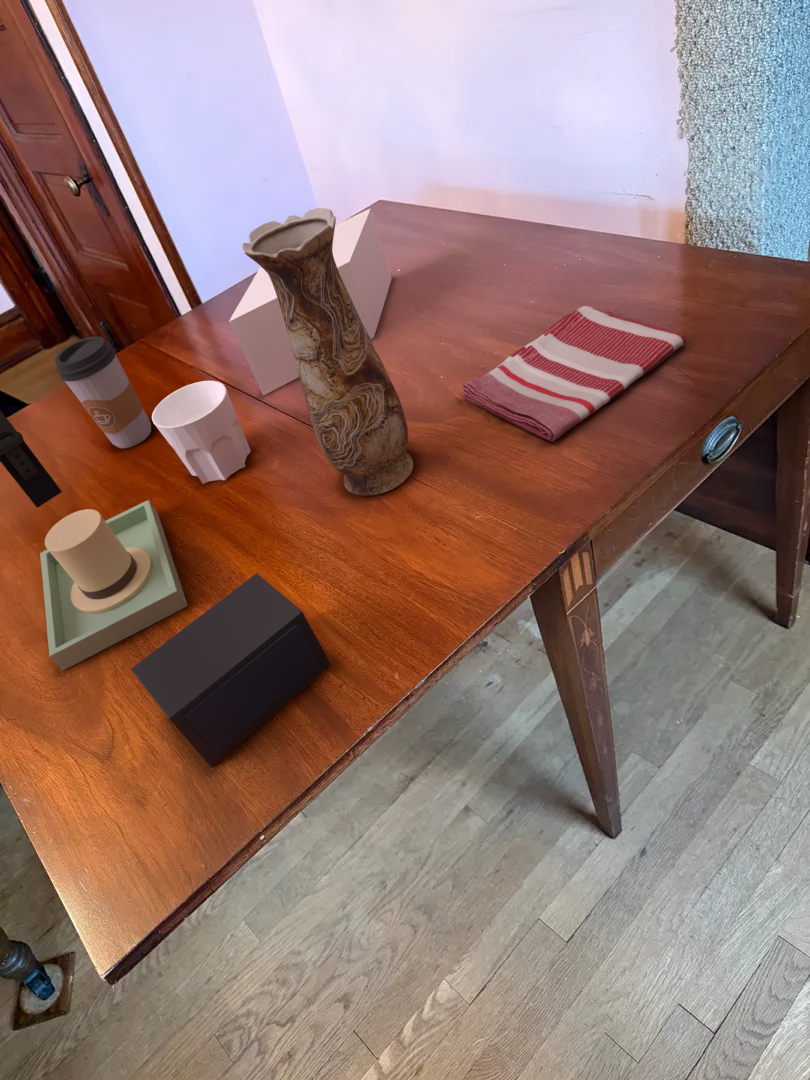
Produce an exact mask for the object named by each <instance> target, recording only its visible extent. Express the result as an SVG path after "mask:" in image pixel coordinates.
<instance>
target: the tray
mask: <svg viewBox="0 0 810 1080" xmlns="http://www.w3.org/2000/svg"><path fill="white" fill-rule="evenodd" d="M105 521H106V523H107V524H108V526H109V527H110V528H111V530H112V531H113V532H114V534H115V535H116V536H117V538H118V539H119V541H120V542H121V543H122V545H123V546H124V547H125V548H139V549H142V550H144V551H145V552H146V553H147V554H148V555H149V557H150V558H151V560H152V572H151V575H150V577H149V579H148V581H147V582H146V584H145V585H144V587H143V588H142V589H141V590H140V591H139V592H138V593H137V594H136V595H135V596H134V597H133V598H131V599H130V600H129V601H127V602H126V603H124V604H122V605H121V606H119V607H117V608H115V609H112V610H110V611H107V612H103V613H98V614H87V613H83V612H81V611H79V610H78V609H77V608H76V607H75V606H74V605H73V604H72V602H71V589H72V586H73V584H74V580H73V579H72V578H71V577H70V576H69V574H68V573H67V572H66V571H65V570H64V568H63V567H62V566H61V565H60V564H59V562H58V561H57V560H56V559H55V558H54V556H53V555H52V554H51V553H50V552H49V550H48V549H47V548H46V549H45V550H42V551H41V552H40V553H39V556H40V567H41V577H42V587H43V588H42V589H43V601H44V611H45V621H46V632H47V645H48V653H49V654H48V655H49V657H50V658H51V660H52V661H53V662H54V663H55V664H56V665H57V666H58V667H59V668H60V669H61V670H62V671H65V670H67V669H68V668H69V669H70V668H71V667H73V666H75V665H77V664H78V663H81V662H83V661H85V660H86V659H89V658H90V657H92V656H94V655H96V654H98V653H100V652H102V651H104V650H107V648H109V647H112V646H113V645H115V644H117V643H120V642H121V641H123V640H125V639H127V638H129V637H132V636H133V635H135V634H137V633H138V632H141V631H143V630H144V629H146V628H148V627H150V626H153V625H154V624H156V623H158V622H160V621H162V620H164V619H165V618H167V617H170V616H171V615H173V614H176V613H177V612H179V611H181V610H184V609H185V608H187V607H188V602H187V599H186V597H185V594H184V590H183V587H182V584H181V581H180V577H179V574H178V572H177V568H176V566H175V562H174V559H173V556H172V553H171V549H170V547H169V543H168V540H167V537H166V534H165V531H164V528H163V525H162V521H161V518H160V515H159V513H158V512H157V510H156V508H155V507H154V506H153V504H152V503H151V501H150V500H149V499H147V500H145V501H143V502H141V503H139V504H137V505H135V506H132V507H130V508H128V509H127V510H124V511H122V512H120V513H119V514H116V515H115V516H113V517H110V518H108V519H106V520H105Z"/></svg>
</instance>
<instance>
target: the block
mask: <svg viewBox="0 0 810 1080" xmlns="http://www.w3.org/2000/svg"><path fill="white" fill-rule="evenodd" d="M332 253H333V257H334V260H335V263H336V266H337V269H338V271H339V274H340V276H341V278H342V280H343V283H344V285H345V287H346V289H347V291H348V293H349V296H350V298H351V300H352V302H353V304H354V306H355V309H356V311H357V313H358V315H359V317H360V319H361V321H362V323H363V325H364V327H365V329H366V331H367V333H368V335H369V337H370V339H371V340H372V339H374V338H375V335H376V332H377V329H378V326H379V323H380V319H381V315H382V313H383V310H384V309H383V308H384V305H385V303H386V299H387V296H388V292H389V289H390V286H391V282H392V280H393V279H392V276H391V273H390V272H391V271H390V269H389V265H388V262H387V259H386V255H385V251H384V248H383V245H382V242H381V238H380V235H379V232H378V228H377V225H376V221H375V217H374V214H373V211H372V207H371V208H368V209H365V210H364V211H362V212H360V213H358V214H356V215H354V216H352V217H350V218H347V219H345V220H343V221H341V222H339V223H337V224H335V230H334V237H333V247H332ZM228 324H229V326H230V329H231V330H232V333H233V334H234V337H235V339H236V341H237V343H238V345H239V347H240V349H241V352H242V353H243V357H244V358H245V360H246V363H247V364H248V365H247V366H248V367H249V369H250V372H251V373H252V376H253V378H254V379H255V382H256V384H257V386H258V389H259V390H260V392H261V395H262V396H265V395H267V394H270V393H271V392H273V391H275V390H277V389H279V388H281V387H283V386H285V385H286V384H288V383H290V382H292V381H294V380H296V379H298V378H299V374H298V370H297V366H296V362H295V358H294V355H293V351H292V347H291V344H290V340H289V337H288V333H287V329H286V326H285V322H284V319H283V315H282V311H281V308H280V305H279V301H278V298H277V295H276V292H275V289H274V287H273V284H272V282H271V279H270V277H269V275H268V273H267V272H266V271H265V270H264V269H263V268H262V267H261V266H259V269H258V271H257V272H256V274H255V276H254V277H253V279H252V281H251V282H250V284H249V285H248V288H247V290H246V291H245V293H244V294H243V296H242V297H241V300H240V302H239V303H238V304H237V306H236V308H235V310H234V312H233V313H232V315H231V317H230V319H229V320H228Z"/></svg>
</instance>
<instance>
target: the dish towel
mask: <svg viewBox="0 0 810 1080" xmlns="http://www.w3.org/2000/svg"><path fill="white" fill-rule="evenodd" d="M685 344H687V338H686V335H685V334H684V333H681V332H679V331H674V330H672V329H667V328H663V327H660V326H655V325H651V324H649V323H645V322H642V321H639V320H634V319H632V318H631V319H630V318H626V317H624V316H619V315H615V314H611V313H609V312H606V311H605V310H604V311H603V310H601V309H598V308H595V307H592V306H589V305H582V306H581V307H579V308H578V309H576V310H575V311H573V312H572V313H571V312H570V313H569V314H567V315H565V316H564V317H562V318H560V319H559V320H558V321H556V323H554V324H553V325H552V326H551V327H549V329H546V331H544V332H543V333H542V334H541V335H540V336H539V337H538V338H536V339H534V340H533V341H530V342H529V343H527V344H526V345H523V346H522V347H521V348H519V349H518V350H516V351H515V352H513V353H512V354H510V355H509V356H508V357H506V358H505V359H504V361H502V362H501V363H500V364H499V365H497V366H496V367H495V368H493V369H491V370H490V371H489V372H487V373H485V374H483V375H482V376H480V377H477V378H471V379H468V380H466V382H463V383H462V386H463V387H462V390H463V400H464V401H466V402H469V403H470V404H472V405H474V406H477V407H478V408H481V409H482V410H484V411H486V412H489V413H491V414H492V415H494V416H495V417H498V418H500V419H502V420H504V421H506V422H508V423H510V424H513V425H514V426H517V427H519V428H522V429H524V430H526V431H528V432H530V433H532V434H535V435H536V436H538V437H541V438H543V439H545V440H547V441H550V442H554V441H555V440H557V439H559V438H561V436H563V435H564V434H565V433H566V432H568V431H569V430H571V429H572V428H573V427H574V426H576V425H578V424H579V423H580V422H582V421H583V420H584V419H586V418H587V417H589V416H591V415H593V414H594V413H595V412H596V411H598V410H599V409H600V408H602V407H604V406H605V405H606V404H607V403H609V402H610V401H611V400H613V399H615V397H617V396H618V395H620V394H621V393H622V392H623V391H624V390H626V389H627V388H628V387H629V386H630V385H631V384H632V383H634V382H635V381H637V380H638V379H640V378H641V377H642V376H643V377H644V375H646V374H647V373H649V372H651V371H652V370H653V369H655V368H656V367H657V366H658V365H660V364H661V363H662V362H663V361H666V359H667V358H669V357H670V356H672V354H673V353H674V352H675V351H676V350H678V349H679V348H681V347H683V345H685Z"/></svg>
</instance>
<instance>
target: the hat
mask: <svg viewBox="0 0 810 1080" xmlns="http://www.w3.org/2000/svg"><path fill="white" fill-rule="evenodd" d="M44 546H45V549H46V550H47V549H48V550H49V552H50V553H51V554H52V555H53V556H54V558H55V559H56V560H57V561H58V562H59V564H60V565H61V566H62V567H63V568H64V570H65V571H66V572H67V573H68V574H69V576H70V577H71V578H72V579H73V580H74V584H73V586H72V589H71V602H72V604H73V605H74V606H75V607H76V608H77V609H78V610H79V611H81V612H83V613H87V614H98V613H103V612H107V611H110V610H112V609H115V608H117V607H119V606H121V605H122V604H124V603H126V602H127V601H129V600H130V599H131V598H133V597H134V596H135V595H136V594H137V593H138V592H139V591H140V590H141V589H142V588H143V587H144V585H145V584H146V582H147V581H148V579H149V577H150V575H151V572H152V560H151V558H150V557H149V555H148V554H147V553H146V552H145V551H144V550H142V549H139V548H125V547H124V546H123V545H122V543H121V542H120V541H119V539H118V538H117V536H116V535H115V534H114V532H113V531H112V530H111V528H110V527H109V526H108V524H107V523H106V520H105V519H104V517H103V515H102V514H101V513H100V511H98V510H96V509H92V508H86V509H80V510H78V511H75V512H72V513H70V514H69V515H66V516H65V517H63V518H61V519H60V520H59V521H57V522H56V523H55V524H54V525H53V526H52V527H51V528H50V529H49V531H48V532H47V534H46V535H45V538H44Z"/></svg>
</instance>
